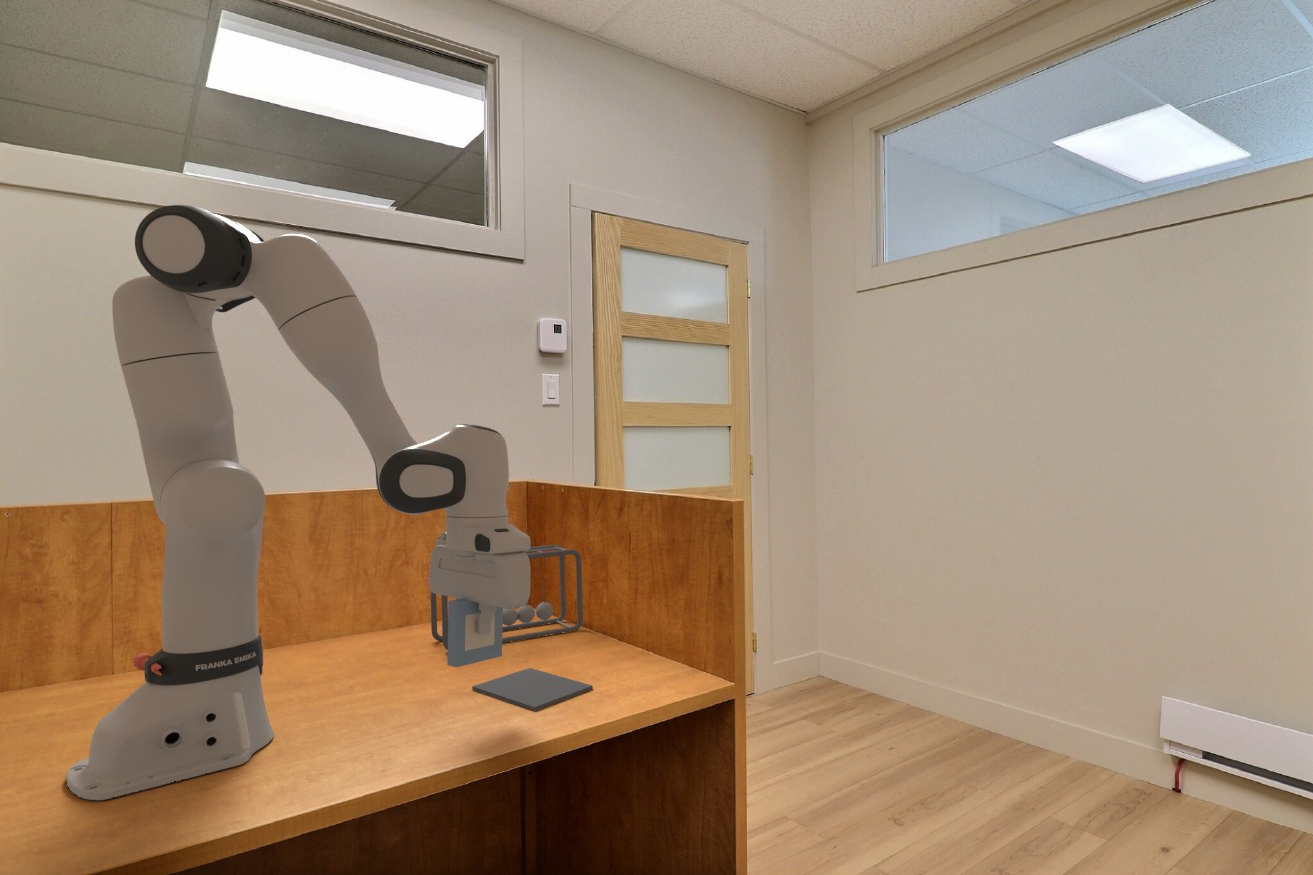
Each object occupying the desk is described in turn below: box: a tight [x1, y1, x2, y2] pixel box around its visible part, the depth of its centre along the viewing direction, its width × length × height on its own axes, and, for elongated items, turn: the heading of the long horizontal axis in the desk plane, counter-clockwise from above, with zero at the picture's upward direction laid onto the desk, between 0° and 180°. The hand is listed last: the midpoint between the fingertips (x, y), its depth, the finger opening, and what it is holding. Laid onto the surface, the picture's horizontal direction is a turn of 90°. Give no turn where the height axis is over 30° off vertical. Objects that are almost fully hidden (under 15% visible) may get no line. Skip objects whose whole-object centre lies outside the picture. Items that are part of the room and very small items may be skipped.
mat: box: [471, 667, 594, 712], centre depth 116 cm, size 12×16×1 cm
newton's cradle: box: [430, 544, 584, 651], centre depth 151 cm, size 30×10×18 cm, turn 120°
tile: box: [446, 599, 504, 668], centre depth 103 cm, size 2×8×9 cm, turn 139°
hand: (475, 631), depth 103 cm, fingers closed on tile, 2 cm apart
